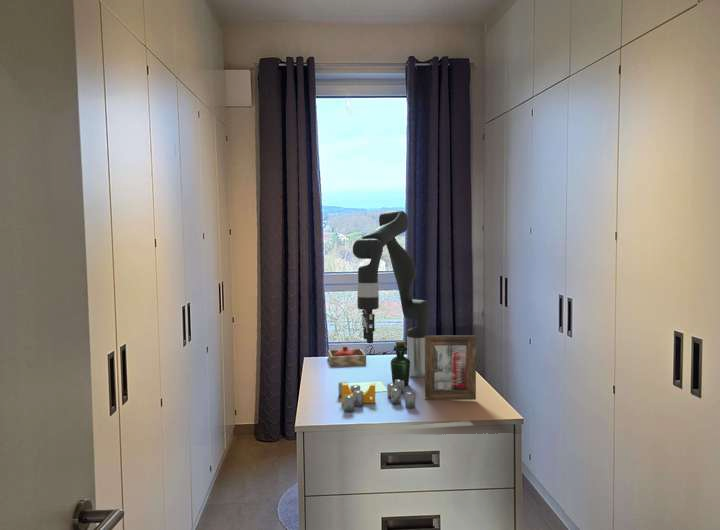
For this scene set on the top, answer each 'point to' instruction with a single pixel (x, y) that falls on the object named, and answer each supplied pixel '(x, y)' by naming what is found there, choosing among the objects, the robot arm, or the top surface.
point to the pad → (365, 386)
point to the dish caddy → (347, 358)
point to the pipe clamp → (366, 395)
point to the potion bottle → (400, 364)
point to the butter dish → (345, 352)
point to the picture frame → (450, 367)
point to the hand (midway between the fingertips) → (368, 341)
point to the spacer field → (392, 393)
